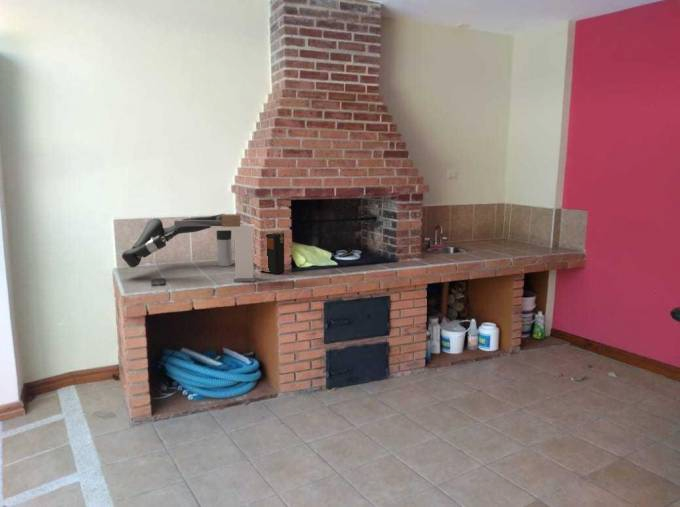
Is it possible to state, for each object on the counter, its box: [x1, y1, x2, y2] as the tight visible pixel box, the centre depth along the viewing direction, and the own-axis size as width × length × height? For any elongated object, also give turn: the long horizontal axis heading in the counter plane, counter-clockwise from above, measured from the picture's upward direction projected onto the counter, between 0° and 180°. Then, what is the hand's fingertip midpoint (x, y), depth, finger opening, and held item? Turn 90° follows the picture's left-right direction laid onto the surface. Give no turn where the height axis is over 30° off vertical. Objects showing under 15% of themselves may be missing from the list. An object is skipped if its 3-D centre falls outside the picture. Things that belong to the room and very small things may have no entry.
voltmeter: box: [266, 232, 285, 275], centre depth 334 cm, size 16×9×25 cm, turn 59°
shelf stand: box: [210, 223, 256, 283], centre depth 312 cm, size 10×24×32 cm, turn 98°
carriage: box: [173, 213, 241, 227], centre depth 307 cm, size 7×36×6 cm, turn 98°
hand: (179, 230), depth 317 cm, fingers open, 8 cm apart
